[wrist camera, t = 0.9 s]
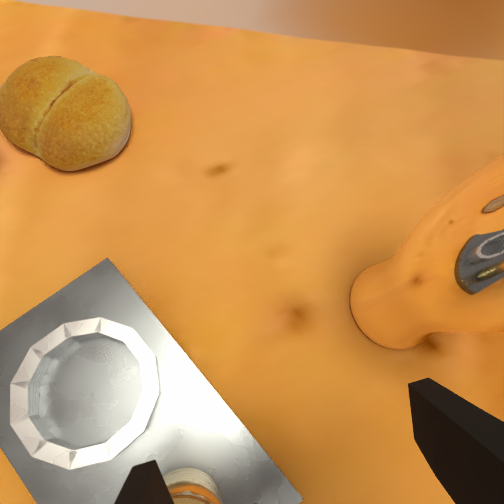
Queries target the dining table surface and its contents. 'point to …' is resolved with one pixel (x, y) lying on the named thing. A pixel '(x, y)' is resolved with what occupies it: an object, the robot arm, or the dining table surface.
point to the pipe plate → (116, 402)
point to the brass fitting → (192, 487)
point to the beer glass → (441, 270)
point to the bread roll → (64, 113)
